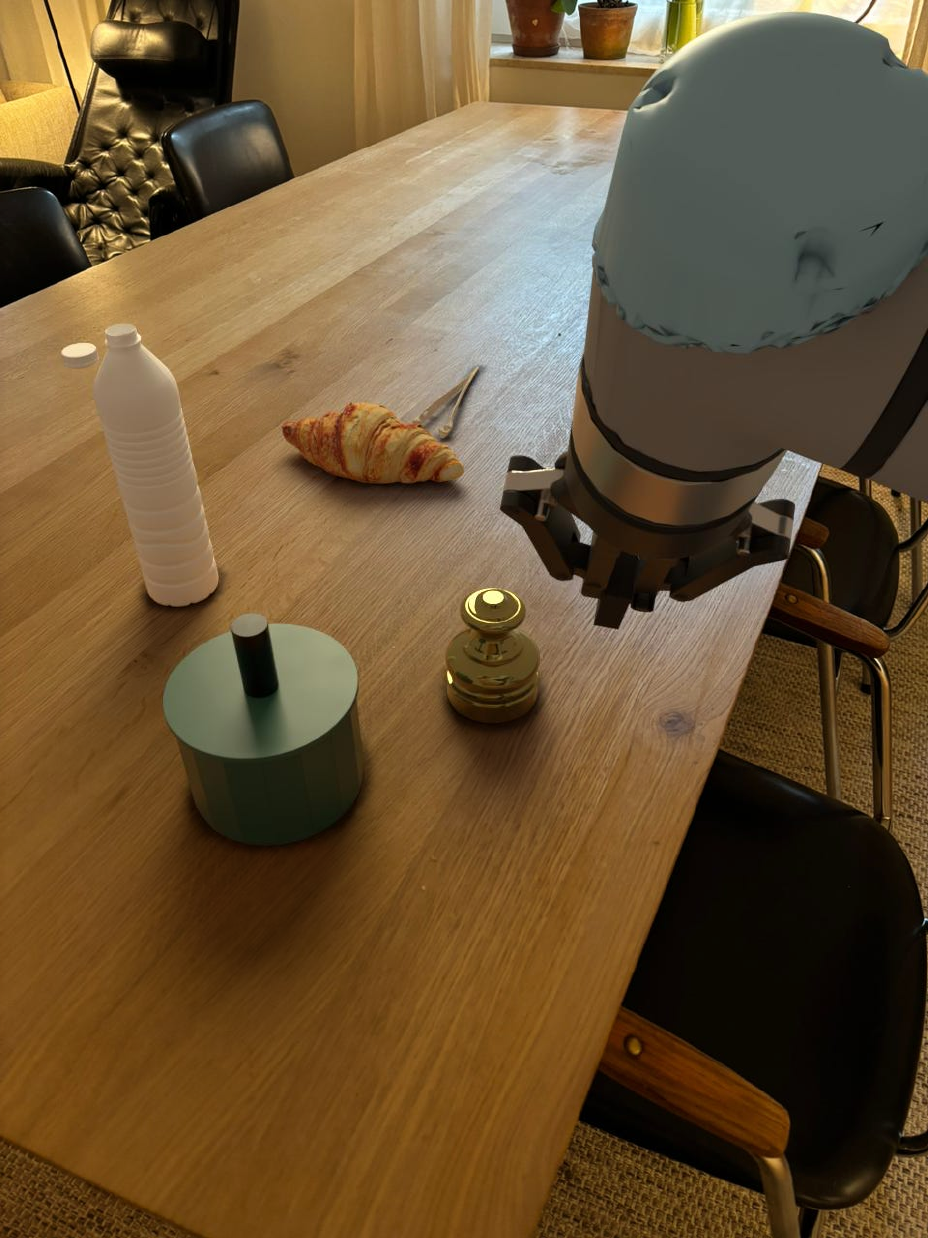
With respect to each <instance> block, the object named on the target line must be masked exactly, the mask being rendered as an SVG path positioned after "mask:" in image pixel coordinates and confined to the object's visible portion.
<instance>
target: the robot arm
mask: <svg viewBox="0 0 928 1238" xmlns="http://www.w3.org/2000/svg"><path fill="white" fill-rule="evenodd" d="M889 41H890V40H889V39H888V38H887V37H886V36H884V35H883V34H882V33H879V32H878V31H876V30H873V29H871V28H869V27H866V26H864V25H862V24H859V23H857V22H854V21H852V20H848V19H845V18H842V17H839V16H833V15H829V14H823V13H816V12H809V11H779V12H778V11H776V12H770V13H765V14H753V15H750V16H745V17H743V18H739V19H734V20H732V21H729V22H726V23H723V24H721V25H719V26H715V27H714V28H712V29H710V30H708V31H706V32H704V33H702V34H701V35H699V36H696V38H694V39H692V40H690V41H689V42H687V43H686V44H684V45H683V46H681V47H680V48H679V49H678V50H677V51H675V52H674V53H672V54H671V55H670V56H669V57H668V58H667V59H666V60H665V61H664V62H663V63H662V65H660V66H659V67H658V68H656V70H655V71H654V72H653V73H652V75H651V76H650V77H649V79H648V80H647V81H646V83H645V84H644V85H643V87H642V89H641V90H640V92H639V93H638V95H637V96H636V97H635V98H634V100H633V101H632V103H631V104H630V106H629V108H627V112H626V118H625V122H624V125H623V128H622V132H621V136H620V140H619V144H618V148H617V153H616V157H615V161H614V166H613V170H612V174H611V179H610V183H609V187H608V191H607V196H606V200H605V203H604V208H603V210H602V212H601V214H600V216H599V218H598V220H597V222H596V224H595V225H594V229H593V233H592V241H591V247H592V249H593V251H594V252H593V253H592V255H591V267H592V274H591V284H590V291H589V292H590V293H589V300H588V301H589V302H588V311H587V313H588V314H587V319H586V320H587V321H586V330H585V339H584V347H583V353H582V356H581V359H580V362H579V365H578V372H577V380H576V388H575V395H574V402H573V410H572V420H571V424H570V425H571V426H570V431H569V437H568V438H569V440H568V447H567V451H564V452H563V453H561V454H560V455H559V456H558V457H557V459H556V460H555V462H554V467H551V466H546V467H543V466H542V465H541V464H540V463H539V462H537V460H535V459H533V458H532V457H529V456H526V455H523V454H518V455H517V454H515V455H512V456H510V458H509V462H508V465H507V466H508V467H507V470H506V476H505V480H504V485H503V490H502V495H501V500H500V506H499V511H501V513H503V514H505V516H507V517H508V518H510V519H511V520H513V521H514V522H516V523H517V524H518V525H519V526H521V527H522V529H523V530H524V532H525V534H526V536H527V537H528V539H529V541H530V543H531V545H532V546H533V548H534V550H535V551H536V553H537V555H538V557H539V559H540V560H541V562H542V564H543V565H544V567H545V569H546V571H547V572H548V574H549V576H550V577H551V578H553V579H554V580H556V581H560V582H570V581H573V580H574V576H576V577H579V578H580V579H582V582H581V583H582V584H581V588H580V594H581V596H582V597H584V598H590V599H597V601H596V608H595V613H594V619H593V626H597V627H601V628H606V629H607V628H608V629H613V630H619V629H620V627H621V624H622V622H623V620H624V618H625V615H626V613H627V611H628V609H629V606H630V609H631V610H633V611H635V612H639V613H653V612H654V610H655V605H656V598H657V596H658V594H659V592H669V594H668V597H669V598H670V599H671V600H674V601H676V602H679V603H686V602H691V601H694V600H696V599H697V598H700V597H701V596H703V595H704V594H706V593H709V592H710V591H712V590H714V589H716V588H717V587H719V586H721V585H723V584H725V583H727V582H728V581H730V580H732V579H734V578H737V576H740V575H741V574H744V573H745V572H747V571H749V570H751V569H752V568H755V567H759V566H763V565H768V564H769V565H770V564H774V563H778V562H783V561H786V560H788V559H789V558H790V551H791V545H792V544H791V542H792V534H793V527H794V519H795V512H796V504H795V502H793V501H791V500H789V499H787V498H773V499H769V500H765V501H761V502H756V500H757V499H758V497H759V495H760V494H761V492H762V491H763V489H764V487H765V486H766V484H767V483H768V482H769V480H770V479H771V478H772V476H773V475H774V473H775V471H776V470H777V469H778V467H779V465H780V463H781V462H782V460H783V459H784V457H785V455H786V454H787V452H790V453H792V454H796V455H798V456H801V457H803V458H806V459H808V460H811V461H814V462H816V463H819V464H822V465H825V466H827V467H831V468H834V469H836V470H839V471H841V472H845V473H846V474H849V475H852V476H854V477H857V478H858V479H860V480H864V479H865V480H868V481H871V482H873V483H875V484H877V485H881V486H883V487H885V488H888V489H890V490H893V491H895V492H897V493H899V494H902V495H905V496H908V497H909V498H912V499H915V500H917V501H919V502H922V503H924V504H926V505H928V73H927V72H926V71H924V70H923V69H922V68H910V67H909V66H908V65H907V64H906V63H904V62H903V60H901V59H900V58H899V57H898V56H897V55H896V54H895V52H894V51H893V49H892V48H891V45H890V42H889ZM574 517H576V518H577V519H578V520H579V521H581V522H582V523H584V524H585V525H587V527H588V528H589V529H590V530H591V531H592V535H591V540H590V544H587V543H584V542H581V538H582V534H581V532H580V529H579V527H578V525H577V522H576V520H575V518H574Z"/></svg>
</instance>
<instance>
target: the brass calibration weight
mask: <svg viewBox="0 0 928 1238" xmlns="http://www.w3.org/2000/svg"><path fill="white" fill-rule="evenodd" d="M526 607H527V606H526V603H525V601H524V600H523V598H522V597H520V596H519V595H518V593H517V594H516V593H515V592H514V591H511V590H509V589H505V588H500V587H485V588H481V589H477V590H474V591H473V592H471V593H469V594H468V595H466V596H465V597H464V598H463V600H462V601H461V604H460V607H459V615H460V618H461V620H462V622H463V623H464V624H465V626H467V627H466V628H464V629H462V630H460V631H459V632H458V633H457V634H455V635H454V636H453V637H452V639H451V640H450V641H449V642H448V645H447V646H446V650H445V655H444V657H445V658H444V660H445V667H446V669H445V681H446V692H447V693H446V694H447V698H448V701H449V703H450V705H451V706H452V708H453V709H455V710H456V711H457V712H458V713H459V714H460V715H462V716H464V717H466V718H468V719H469V720H473V721H475V722H478V723H479V722H480V723H484V724H500V723H507V722H511V721H514V720H517V719H518V718H521V717H523V715H525V714H527V713H528V712H529V711H530V710H531V709H532V707H534V705H535V704H536V701H537V699H538V692H539V683H540V682H539V681H540V671H539V667H540V664H541V652H540V648H539V646H538V645H537V643H536V641H535V640H534V638H533V637H532V636H530V635H529V634H528V633H527V632H526V631H524V630H522V629H521V628H519V627H520V626H521V625H522V624H523V623H524V621H525V619H526V616H527V608H526Z"/></svg>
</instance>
